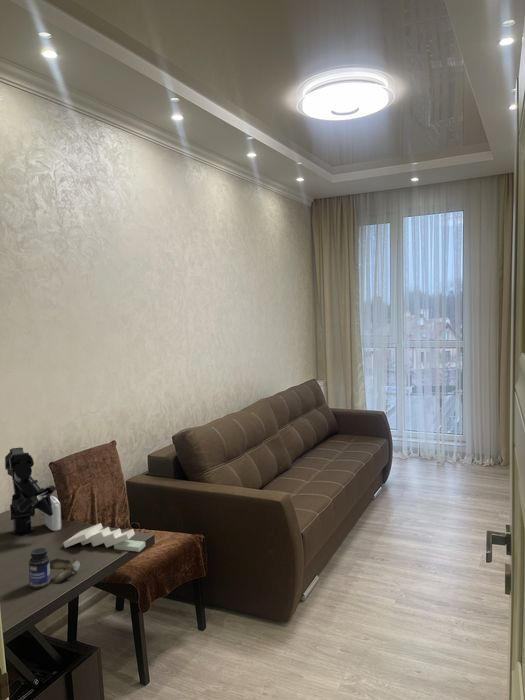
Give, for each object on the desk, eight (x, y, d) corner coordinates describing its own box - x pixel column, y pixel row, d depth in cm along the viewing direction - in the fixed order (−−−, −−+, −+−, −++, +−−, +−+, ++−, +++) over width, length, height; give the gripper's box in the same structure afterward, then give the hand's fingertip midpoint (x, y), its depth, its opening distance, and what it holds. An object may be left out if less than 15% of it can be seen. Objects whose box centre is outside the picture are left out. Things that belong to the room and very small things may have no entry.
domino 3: (91, 541, 197) (112, 533, 194) (98, 536, 202) (119, 528, 199) (93, 546, 197) (115, 538, 194) (100, 541, 202) (121, 533, 199)
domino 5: (114, 544, 195) (138, 547, 192) (121, 539, 200) (145, 541, 197) (114, 550, 195) (139, 552, 192) (121, 544, 200) (145, 547, 197)
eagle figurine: (68, 564, 180) (43, 569, 174) (77, 550, 178) (51, 554, 171) (76, 583, 176) (51, 588, 169) (85, 568, 174) (59, 573, 167)
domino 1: (63, 542, 196) (84, 534, 194) (80, 531, 207) (100, 522, 204) (65, 547, 196) (86, 539, 193) (82, 536, 207) (102, 527, 204)
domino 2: (80, 540, 198) (101, 532, 195) (87, 535, 203) (108, 526, 200) (82, 545, 198) (103, 537, 195) (89, 539, 203) (110, 531, 200)
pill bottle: (27, 590, 166) (26, 555, 165) (31, 580, 172) (30, 547, 171) (48, 588, 167) (47, 554, 166) (52, 578, 173) (50, 545, 172)
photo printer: (43, 524, 218) (42, 495, 217) (54, 522, 221) (53, 492, 220) (51, 532, 210) (50, 501, 210) (62, 529, 213) (61, 499, 212)
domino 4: (104, 542, 196) (126, 534, 193) (111, 537, 200) (132, 528, 198) (106, 547, 196) (128, 539, 193) (113, 542, 200) (135, 533, 198)
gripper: (24, 490, 214) (48, 520, 213) (-4, 504, 196) (23, 537, 195) (44, 472, 213) (68, 503, 212) (18, 485, 195) (44, 518, 194)
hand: (51, 515), depth 203 cm, fingers closed
